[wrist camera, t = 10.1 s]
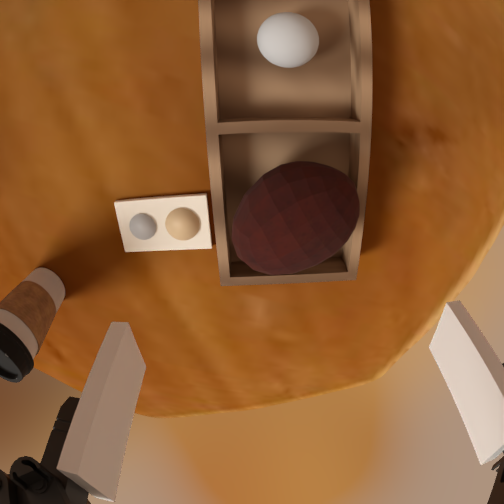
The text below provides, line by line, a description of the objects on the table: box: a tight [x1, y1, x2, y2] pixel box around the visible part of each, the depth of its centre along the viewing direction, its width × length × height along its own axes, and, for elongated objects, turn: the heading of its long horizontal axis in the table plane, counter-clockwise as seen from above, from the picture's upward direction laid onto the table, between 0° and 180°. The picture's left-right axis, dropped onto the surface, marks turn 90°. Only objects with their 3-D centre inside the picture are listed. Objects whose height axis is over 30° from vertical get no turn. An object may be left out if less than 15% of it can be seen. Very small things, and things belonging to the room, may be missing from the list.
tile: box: [114, 193, 212, 252], centre depth 33 cm, size 6×10×1 cm, turn 92°
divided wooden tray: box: [198, 0, 372, 286], centre depth 27 cm, size 31×14×4 cm, turn 2°
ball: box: [257, 12, 319, 68], centre depth 22 cm, size 5×5×5 cm
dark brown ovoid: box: [231, 161, 360, 275], centre depth 27 cm, size 9×12×9 cm
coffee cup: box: [0, 268, 65, 382], centre depth 31 cm, size 8×8×15 cm
